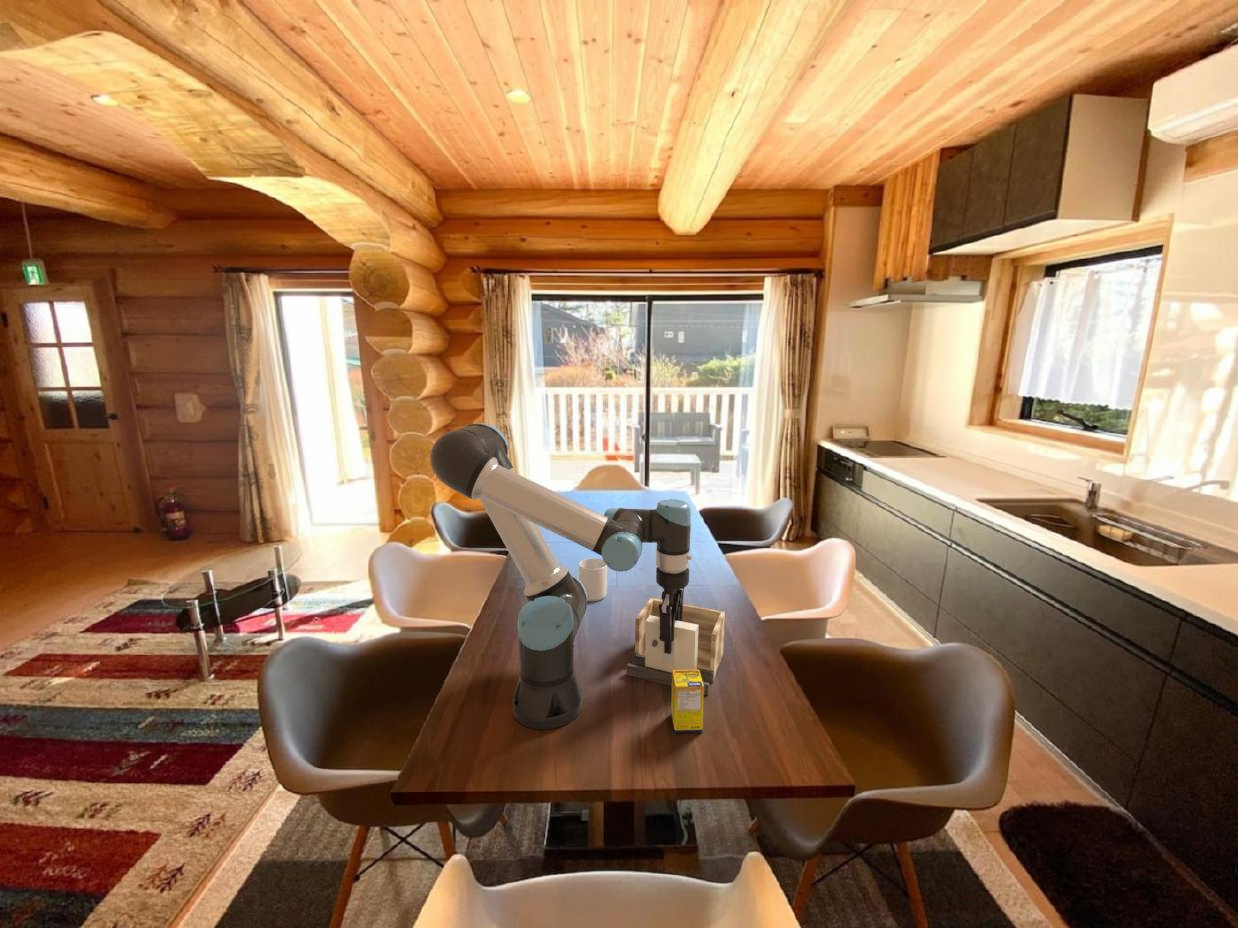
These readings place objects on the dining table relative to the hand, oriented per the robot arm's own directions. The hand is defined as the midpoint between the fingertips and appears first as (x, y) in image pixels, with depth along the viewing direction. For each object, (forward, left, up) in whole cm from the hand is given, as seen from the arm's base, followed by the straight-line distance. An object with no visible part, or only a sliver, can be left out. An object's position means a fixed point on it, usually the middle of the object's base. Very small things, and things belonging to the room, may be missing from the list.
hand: (670, 658), depth 123 cm
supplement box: (-14, -8, -5) cm, 16 cm away
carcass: (+7, 0, -5) cm, 9 cm away
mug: (+33, +36, -5) cm, 49 cm away
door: (0, 0, -3) cm, 3 cm away
